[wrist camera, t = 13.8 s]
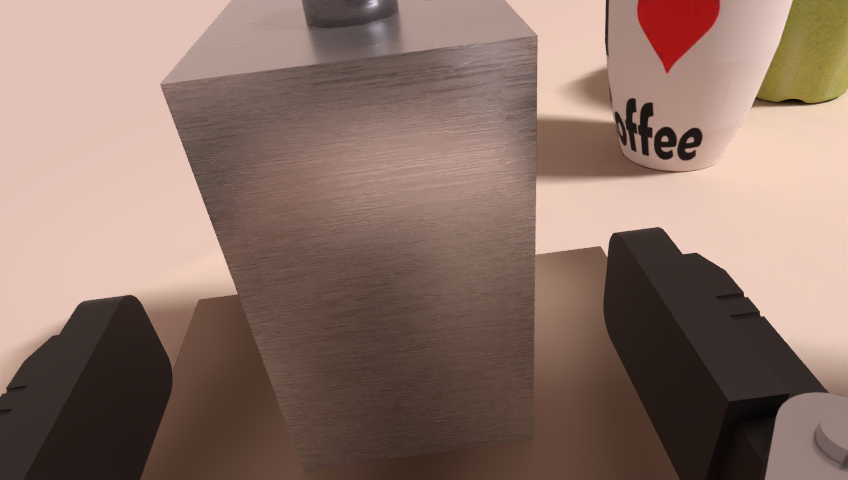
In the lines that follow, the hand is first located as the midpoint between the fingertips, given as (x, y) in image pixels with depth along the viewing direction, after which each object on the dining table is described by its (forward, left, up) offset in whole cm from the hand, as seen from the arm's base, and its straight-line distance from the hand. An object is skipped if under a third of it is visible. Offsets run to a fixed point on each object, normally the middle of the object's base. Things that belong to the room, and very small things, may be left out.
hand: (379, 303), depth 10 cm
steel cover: (0, -5, -7) cm, 9 cm away
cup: (-15, -19, -9) cm, 26 cm away
